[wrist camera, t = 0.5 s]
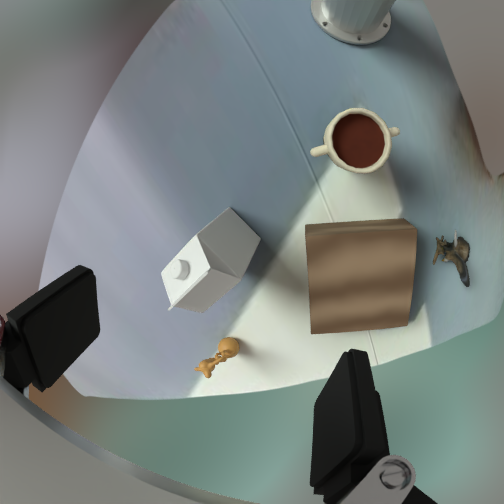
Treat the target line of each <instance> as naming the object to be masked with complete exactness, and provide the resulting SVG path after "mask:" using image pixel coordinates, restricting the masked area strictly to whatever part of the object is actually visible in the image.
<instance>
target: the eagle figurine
mask: <svg viewBox="0 0 504 504" xmlns="http://www.w3.org/2000/svg"><path fill="white" fill-rule="evenodd" d="M443 239H444V236H442V237H441V240H439V239H438V237H436V240H437V250H436V253H435V256H434V260H433V265H434V264H435V262H436V260H437V257H438V255H439V254H443V255H444V252H446V255H445V257H444V259H443V260H442V261H445V262H447V261H449V260H452V261H453V262H454V263H455V265H456V267H457V270H458V272H459V274H460V278H461V281H462V282H463V283H464V285H465V286H466V287H469V286H470V281H469V274H468V269H467V266H466V261H468V257H469V253H470V252H469V250H470V247H469V243H468V242H466V241H465V240H464V238H463V237H458V239H457V233H456V230H455V234H454V241H453V243H448V242H446V240H444V242H443Z"/></svg>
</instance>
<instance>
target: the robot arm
mask: <svg viewBox="0 0 504 504" xmlns="http://www.w3.org/2000/svg"><path fill="white" fill-rule="evenodd" d="M394 2H395V0H312V1H311V12H312V16H313V18H314V20H315V22H316V23H317V24H318V26H319V27H320V28H321V29H322V30H323V31H324V32H326V33H327V34H329V35H330V36H331V37H333V38H335V39H337V40H340V41H343V42H345V43H350V44H356V45H365V44H371V43H375V42H377V41H379V40H381V39H382V38H383V37H384V36H385V35H386V34H387V32H388V31H389V29H390V26H391V15H390V12H389V10H390V8H391V7H392V5H393V4H394ZM324 25H326V26H324ZM358 39H360V41H359V40H358ZM6 315H7V318H8V321H7V322H6V323H5V320H4V318H3V317H2V316H1V315H0V504H259V503H253V502H249V501H244V500H240V499H235V498H230V497H227V496H223V495H219V494H215V493H212V492H208V491H205V490H201V489H198V488H195V487H192V486H188V485H186V484H183V483H180V482H177V481H174V480H172V479H169V478H166V477H164V476H161V475H159V474H156V473H154V472H152V471H149V470H147V469H145V468H142V467H140V466H138V465H136V464H133V463H131V462H129V461H127V460H125V459H123V458H121V457H119V456H117V455H115V454H113V453H111V452H109V451H107V450H105V449H103V448H101V447H100V446H98V445H96V444H94V443H93V442H91V441H89V440H87V439H86V438H84V437H82V436H81V435H79V434H78V433H76V432H74V431H73V430H71V429H70V428H68V427H67V426H65V425H63V424H62V423H60V422H59V421H57V420H56V419H54V418H53V417H52V416H50V415H49V414H47V413H46V412H45V411H43V410H42V409H41V408H39V407H38V406H37V405H35V404H34V403H33V402H32V401H30V400H29V396H28V395H29V384H30V383H31V382H32V384H33V386H34V387H36V388H37V389H38V390H40V391H41V392H43V391H44V390H45V389H46V388H49V387H51V386H52V385H53V384H54V383H55V382H56V381H57V379H58V378H59V377H60V376H61V375H62V374H63V373H64V372H65V371H66V370H67V369H68V368H69V366H70V365H71V364H72V363H73V362H74V361H75V360H76V359H77V358H78V357H79V356H80V355H81V354H82V353H83V352H84V351H85V350H86V348H87V347H88V346H89V345H90V344H91V343H92V342H93V341H94V340H95V339H96V338H97V337H98V335H99V333H100V323H99V313H98V303H97V290H96V277H95V275H94V273H93V271H92V270H91V269H89V268H86V267H84V266H82V265H78V266H76V267H75V268H73V269H71V270H70V271H68V272H67V273H65V274H64V275H62V276H61V277H59V278H57V279H56V280H54V281H53V282H51V283H50V284H48V285H47V286H45V287H44V288H42V289H41V290H40V291H38V292H37V293H35V294H34V295H32V296H31V297H29V298H28V299H27V300H25V301H24V302H23V303H21V304H19V305H18V306H17V307H15V308H14V309H13V310H11V311H10V312H8V313H7V314H6ZM310 474H311V475H310V486H312V487H314V494H318V495H324V499H323V501H324V504H437V503H436V502H435V501H433V500H432V499H431V498H430V497H428V496H427V495H425V494H424V493H423V492H422V491H421V490H419V489H418V488H417V487H416V486H414V483H415V477H416V474H415V470H414V468H413V466H412V464H411V463H410V462H409V461H408V460H407V459H405V458H403V457H401V456H397V455H390V453H389V446H388V439H387V433H386V427H385V421H384V415H383V410H382V405H381V400H380V395H379V393H378V392H377V391H375V386H374V381H373V376H372V371H371V367H370V362H369V358H368V354H367V352H366V351H361V350H356V349H350V350H349V351H348V352H344V353H343V354H342V356H341V358H340V360H339V361H338V363H337V365H336V367H335V369H334V370H333V372H332V374H331V376H330V378H329V379H328V381H327V383H326V385H325V386H324V388H323V390H322V391H321V393H320V395H319V396H318V398H317V400H316V402H315V406H314V423H313V443H312V461H311V473H310Z"/></svg>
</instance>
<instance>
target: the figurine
mask: <svg viewBox="0 0 504 504" xmlns="http://www.w3.org/2000/svg"><path fill="white" fill-rule="evenodd" d="M218 350H219V352H220V353H217V354H216V355H215V358H209V359H206V360H203V361H201V362H200V364H199V367H197V368H195V369H194V370H196V371H202V372H203V373H204V375H205V377H206V378H210V377H211V372H212V371H213V370H214V368H215V365H218V364H219V362H225V361H226V360H227V358H232V357H234V356H236V355H237V353H238V352H239V344H238V342H237V341H236V340H235V339H233V338H230V337H227V338H224V339H222V340H221V341H220V343H219V345H218ZM218 355H222V356H223V357H221V356H218Z"/></svg>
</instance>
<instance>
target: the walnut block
mask: <svg viewBox="0 0 504 504" xmlns="http://www.w3.org/2000/svg"><path fill="white" fill-rule="evenodd" d="M305 239H306V252H307V266H308V281H309V299H310V320H311V334H324V333H340V332H353V331H364V330H375V329H385V328H394V327H402V326H407V325H408V319H409V313H410V306H411V299H412V291H413V282H414V272H415V260H416V245H417V229H416V228H415V227H414V226H413V225H412V224H410V223H409V222H408V221H406V220H405V219H404V218H403V219H385V220H368V221H352V222H337V223H322V224H308V225H305Z"/></svg>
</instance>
